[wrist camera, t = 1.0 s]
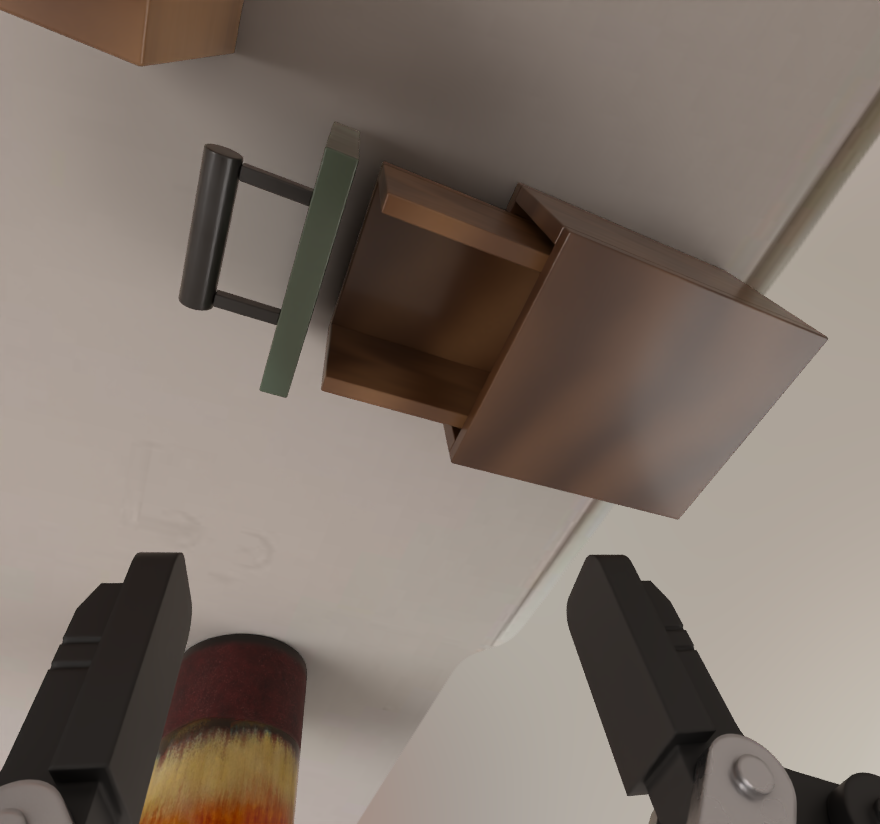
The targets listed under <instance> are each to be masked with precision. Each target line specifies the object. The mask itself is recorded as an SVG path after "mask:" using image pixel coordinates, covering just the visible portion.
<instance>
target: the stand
mask: <svg viewBox="0 0 880 824" xmlns="http://www.w3.org/2000/svg"><path fill="white" fill-rule="evenodd" d="M243 1H244V0H0V10H2V11H5V12H7V13H10V14H12V15H14V16H17V17H19V18H22V19H24V20H27V21H29V22H32V23H34V24H37V25H39V26H41V27H44V28H46V29H49V30H51V31H54V32H56V33H59V34H61V35H64V36H66V37H69V38H71V39H73V40H76V41H78V42H81V43H83V44H86V45H88V46H91V47H93V48H96V49H98V50H101V51H103V52H105V53H108V54H110V55H113V56H115V57H118V58H120V59H123V60H125V61H128V62H130V63H132V64H135V65H137V66H148V65H155V64H162V63H169V62H176V61H183V60H190V59H197V58H204V57H211V56H218V55H225V54H232V53H234V51H235V45H236V40H237V34H238V28H239V23H240V17H241V12H242V6H243Z"/></svg>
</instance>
